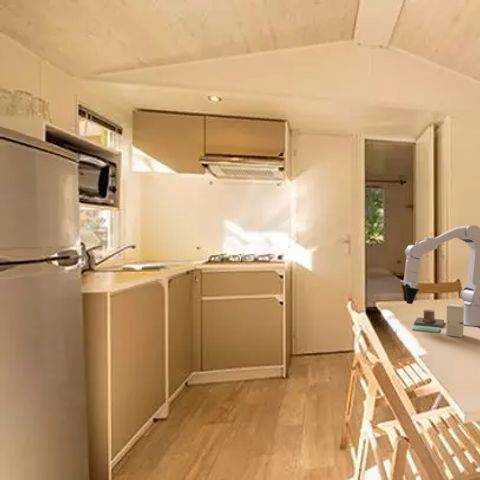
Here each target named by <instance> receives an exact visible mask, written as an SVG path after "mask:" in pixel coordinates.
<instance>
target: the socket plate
mask: <svg viewBox="0 0 480 480" xmlns="http://www.w3.org/2000/svg"><path fill="white" fill-rule="evenodd" d="M413 323H414V324H413V326H414V325H417V326H427V327H437V328H440V329H441V328H443V325H444V323H445V320H444V319H440V318H439V319H438V318H435V323H431V322H424V317H416V319H415V321H414V322H413Z"/></svg>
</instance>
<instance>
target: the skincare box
mask: <svg viewBox="0 0 480 480" xmlns="http://www.w3.org/2000/svg"><path fill="white" fill-rule="evenodd" d="M463 322H464V304H463V305H462V304H453V303H447V304H446V331H445V332H446V336H451V337H460V338H463V337H464V325H463Z"/></svg>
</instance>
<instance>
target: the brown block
mask: <svg viewBox="0 0 480 480" xmlns="http://www.w3.org/2000/svg"><path fill="white" fill-rule="evenodd" d="M435 313H436V312H435V310H434V309H424V310H423V318H424V322H431V323H435V319H436V318H435V317H436V316H435Z"/></svg>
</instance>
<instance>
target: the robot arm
mask: <svg viewBox="0 0 480 480" xmlns="http://www.w3.org/2000/svg"><path fill="white" fill-rule="evenodd" d="M456 238H457V239H458V240H461V241H463V243H464V242H465V243H466V245H468V246H469V247H470V250H469V260H468V270H467V279H466V282H465V283H464V284H463V286H462V287H463V288H462V290H461V291H460V295H459V296H460V298H461V300H462V301H463V305H464V322H463V326H470V327H471V326H472V327H480V227H479V226H478V225H474V224H472V225H458V226H457V227H453V228H451V229H449V230H447V231H446V232H444V233H441V234H439V235H438V236H435V237H432V236H430V237H429V236H426V237H424V239H423V240H421V241H416V242H415V243H414V244H409V245H408V246H407V247H406V248H405V250H404V254H405V256H406V260H405V265H404V267H405V268H404V277H403V280H400V283H403V284H401V288H402V292H403V294H402V295H403V301H404V302H406V304H409V305H413V303H414V300H415V297H416V295H417V294H418V293H419V291H420V289H418V288H416V287H417V286H418V285H419V273H420V266H421V259H422V258H423V257H424V255H425V254H426V255H427V254H428V253H430V252H433V251H434V250H436V249H438V247H439V245H441V244H443V243H445V242H449V241H451V240H453V239H456Z"/></svg>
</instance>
